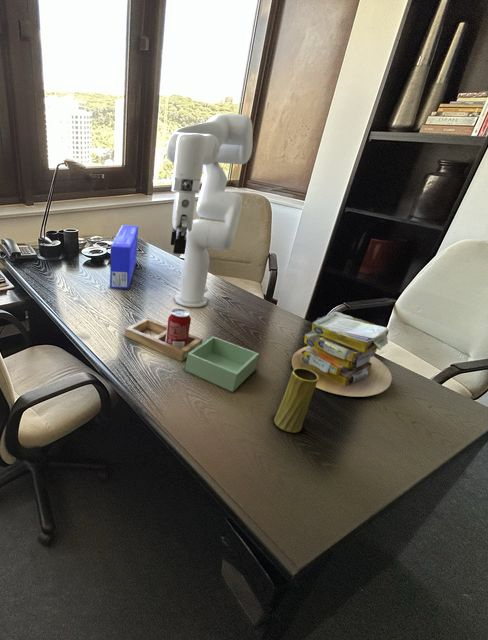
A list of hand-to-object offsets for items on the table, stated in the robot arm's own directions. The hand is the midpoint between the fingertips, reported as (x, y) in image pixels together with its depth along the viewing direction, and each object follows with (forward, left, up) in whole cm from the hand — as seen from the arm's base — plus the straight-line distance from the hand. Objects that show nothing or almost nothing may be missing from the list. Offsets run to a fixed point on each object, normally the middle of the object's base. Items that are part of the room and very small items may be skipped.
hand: (177, 249), depth 109 cm
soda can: (+5, +7, -29) cm, 30 cm away
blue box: (-36, -48, -29) cm, 67 cm away
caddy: (+5, +2, -29) cm, 29 cm away
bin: (+7, +23, -29) cm, 37 cm away
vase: (+17, +46, -29) cm, 57 cm away
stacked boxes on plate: (-16, +49, -29) cm, 59 cm away
